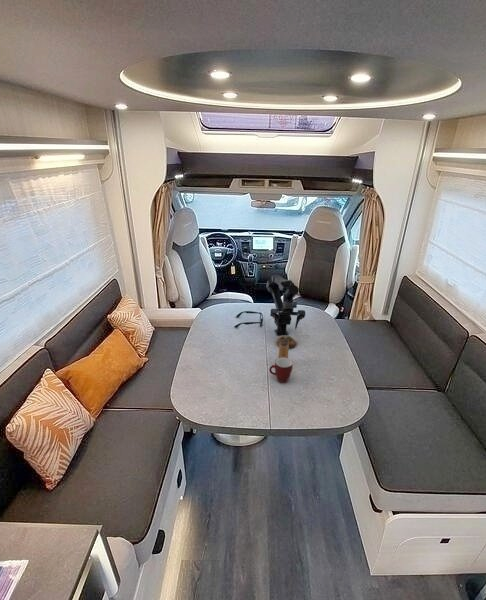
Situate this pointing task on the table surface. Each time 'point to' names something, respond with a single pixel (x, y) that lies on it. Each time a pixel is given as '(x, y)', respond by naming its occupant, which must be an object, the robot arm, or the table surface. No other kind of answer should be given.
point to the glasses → (250, 322)
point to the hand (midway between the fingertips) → (287, 328)
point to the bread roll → (287, 338)
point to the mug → (282, 369)
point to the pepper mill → (283, 349)
